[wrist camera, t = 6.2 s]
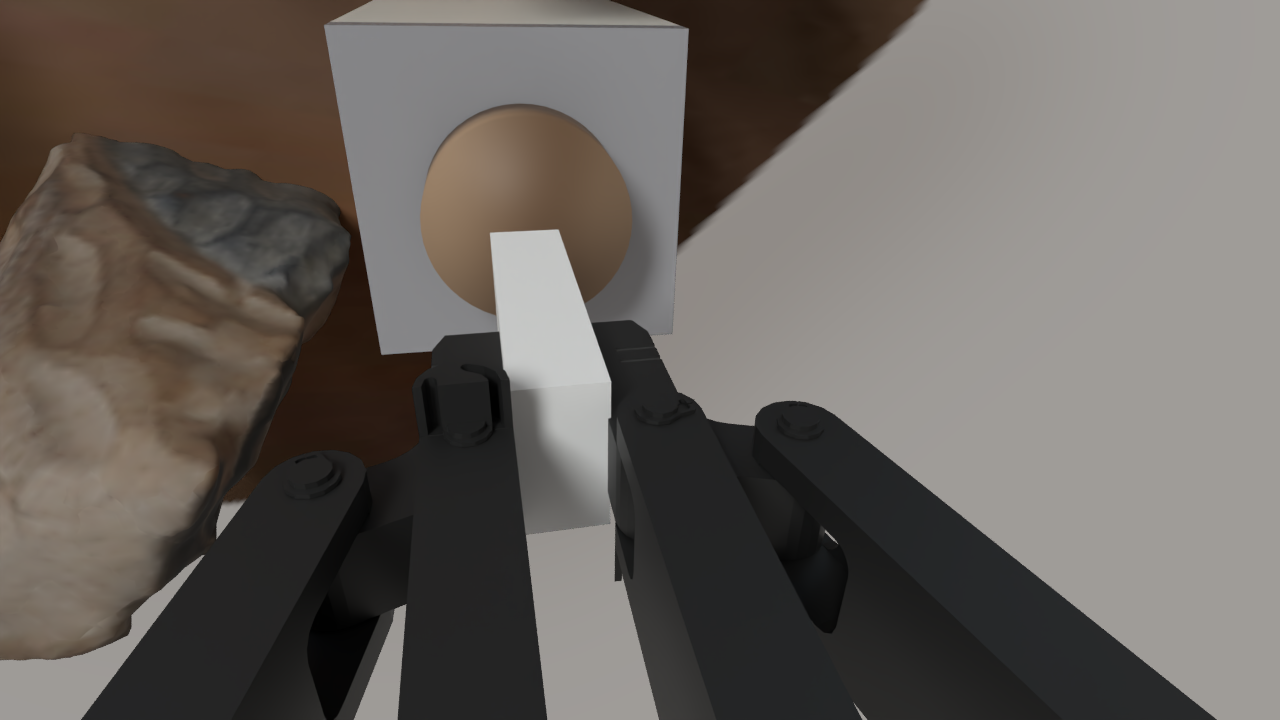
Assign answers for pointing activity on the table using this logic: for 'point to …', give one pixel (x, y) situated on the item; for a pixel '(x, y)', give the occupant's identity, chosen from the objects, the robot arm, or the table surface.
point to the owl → (140, 372)
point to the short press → (489, 77)
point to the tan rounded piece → (523, 198)
